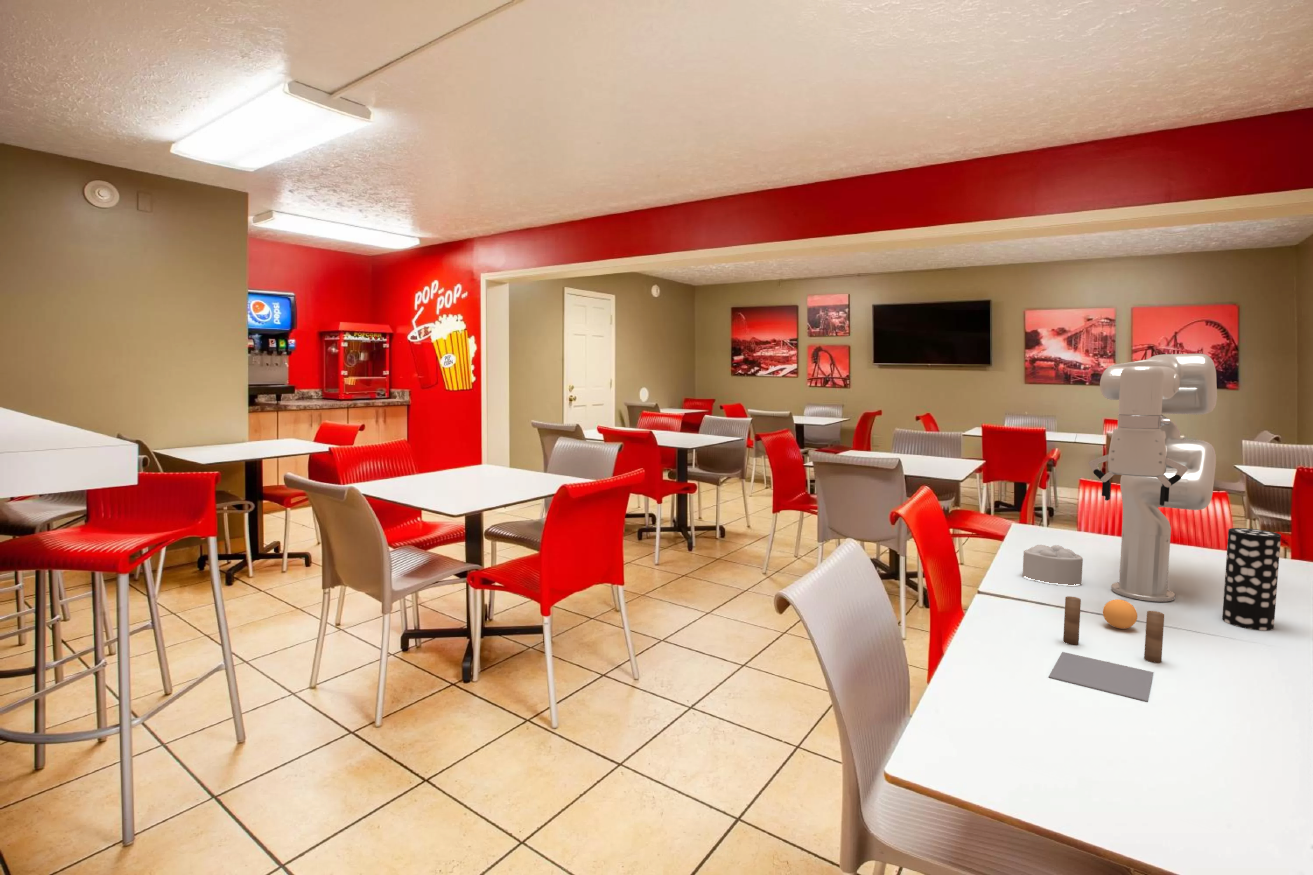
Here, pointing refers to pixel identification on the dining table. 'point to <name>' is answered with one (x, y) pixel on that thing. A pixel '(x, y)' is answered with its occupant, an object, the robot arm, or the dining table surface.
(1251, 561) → the white-spotted black cylinder
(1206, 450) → the robot arm
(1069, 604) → the post
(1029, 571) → the lumpy-topped squat cylinder
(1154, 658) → the post
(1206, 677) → the dining table surface
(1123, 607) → the ball
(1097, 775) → the dining table surface
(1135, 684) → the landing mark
